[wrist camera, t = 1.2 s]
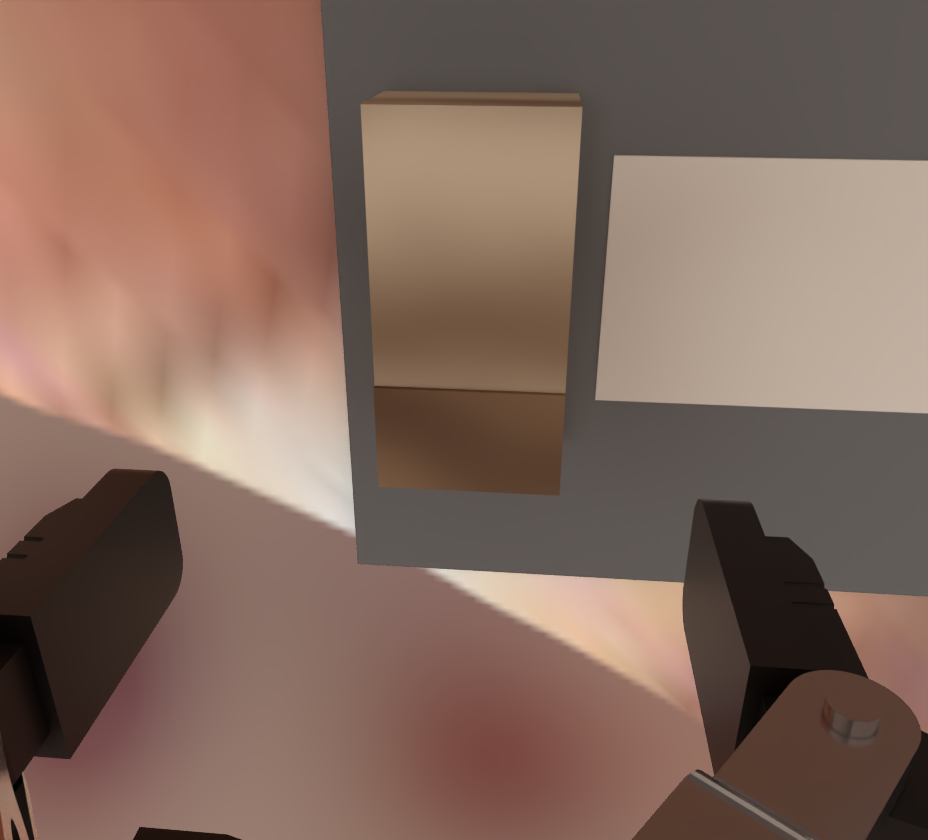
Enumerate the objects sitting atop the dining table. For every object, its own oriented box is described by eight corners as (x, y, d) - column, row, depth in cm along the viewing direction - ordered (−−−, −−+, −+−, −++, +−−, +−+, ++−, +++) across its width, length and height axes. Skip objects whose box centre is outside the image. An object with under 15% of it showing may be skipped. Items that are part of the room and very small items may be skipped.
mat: (315, -137, 20) (310, -139, 20) (1214, -146, 19) (1230, -149, 18) (360, 556, 29) (357, 565, 29) (970, 591, 28) (977, 600, 27)
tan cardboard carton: (383, 91, 22) (359, 104, 19) (578, 93, 22) (582, 107, 19) (396, 434, 27) (378, 486, 24) (558, 441, 26) (559, 495, 23)
